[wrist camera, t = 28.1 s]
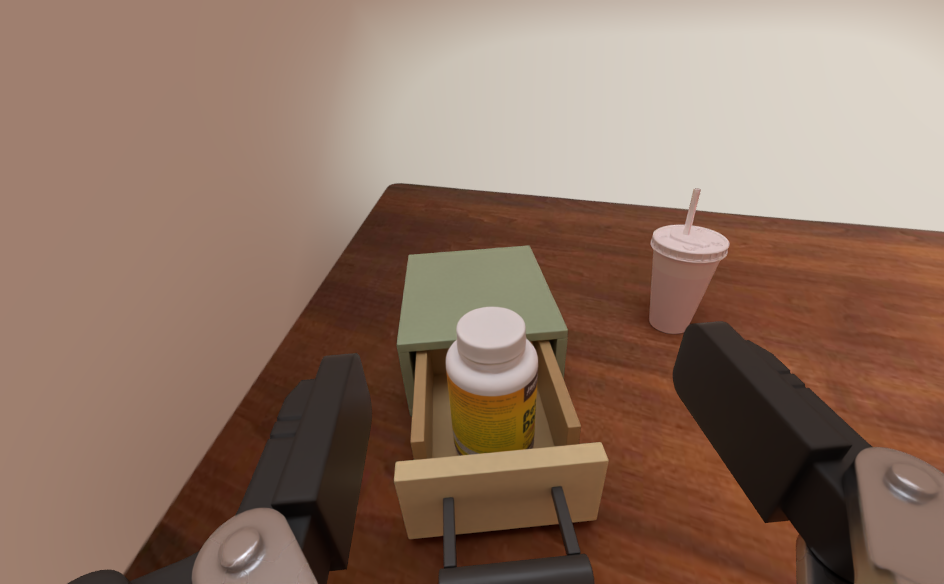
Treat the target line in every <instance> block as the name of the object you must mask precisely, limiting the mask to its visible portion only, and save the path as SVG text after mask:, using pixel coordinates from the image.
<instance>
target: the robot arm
mask: <svg viewBox="0 0 944 584" xmlns="http://www.w3.org/2000/svg"><path fill="white" fill-rule="evenodd" d="M673 382H674V387H675V389H676V392H677V394H678V396H679V397H680V399H681V400H682V402H683V403H684V404H685V406H686V407H687V409H688V410H689V412H690V413H691V415H692V416H693V418H694V419H695V421H696V422H697V424H698V425H699V426H700V428H701V429H702V431H703V432H704V434H705V435H706V437H707V438H708V440H709V441H710V443H711V444H712V446H713V447H714V449H715V450H716V451H717V453H718V454H719V456H720V457H721V459H722V460H723V462H724V463H725V465H726V466H727V468H728V469H729V471H730V472H731V474H732V475H733V476H734V478H735V479H736V481H737V482H738V484H739V485H740V487H741V488H742V490H743V491H744V493H745V494H746V496H747V497H748V498H749V500H750V501H751V503H752V504H753V506H754V507H755V509H756V510H757V512H758V513H759V515H760V516H761V518H762V519H763V521H764V522H765V523H770V522H780V521H789V520H790V522H791V523H792V525H793V526H794V527H795V529H796V530H797V531H798V533H799V535H798V537H797V540H796V577H797V584H944V474H943V473H942V472H940V471H939V470H938V469H936V468H934V467H933V466H931V465H930V464H928V463H926V462H924V461H922V460H920V459H918V458H916V457H914V456H912V455H909V454H906V453H904V452H901V451H897V450H894V449H889V448H882V447H872V446H871V445H870V444H868V443H867V442H866V441H865V440H864V439H863V438H862V437H861V436H860V435H859V434H858V433H857V432H855V431H854V430H853V429H852V428H851V427H850V426H849V425H848V424H847V423H846V422H845V421H844V420H843V419H842V418H841V417H839V416H838V415H837V414H836V413H835V412H834V411H833V410H832V409H831V408H830V407H829V406H828V405H827V404H826V403H824V402H823V401H822V400H821V399H820V398H819V397H818V396H817V395H816V394H815V393H814V392H813V391H812V390H811V389H809V388H806V387H805V384H804V383H803V382H802V381H801V380H800V379H799V378H798V377H797V376H796V375H795V374H791V373H790V370H789V369H788V368H787V367H786V366H785V365H784V364H783V363H782V362H781V361H780V360H778V359H777V358H776V357H775V356H774V355H773V354H772V353H770V352H768V351H767V350H765V349H763V348H761V347H760V346H758V345H756V344H754V343H753V342H751V341H749V340H744V339H743V338H742V337H741V336H740V335H739V334H738V333H737V332H736V331H735V330H734V329H733V328H732V327H731V326H730V325H729V324H728V323H726V322H723V321H719V322H707V323H695V324H690V325H688V326H687V328H686V329H685V332H684V335H683V339H682V342H681V345H680V349H679V352H678V355H677V359H676V362H675V366H674V369H673ZM371 421H372V406H371V399H370V395H369V391H368V387H367V383H366V379H365V375H364V371H363V367H362V364H361V360H360V357H359V355H358V354H357V353H354V354H342V355H331V356H325V357H323V359H322V361H321V364H320V367H319V370H318V372H317V375H316V378H315V379H310V380H302V381H301V382H300V383H299V384H298V385H297V386H296V387H295V388H294V389H293V390H292V392H291V393H290V394H289V395H288V396H287V397H286V398H285V400H284V403H283V405H282V408H281V410H280V412H279V415H278V417H277V422H275V424H274V427H273V429H272V431H271V434H270V439H268V441H267V443H266V446H265V448H264V450H263V453H262V455H261V458H260V460H259V462H258V465H257V467H256V469H255V472H254V474H253V477H252V479H251V481H250V484H249V486H248V488H247V491H246V493H245V496H244V498H243V500H242V503H241V505H240V507H239V509H238V511H237V513H236V515H235V516H234V517H233V518H231V519H229V520H228V521H227V522H225V523H224V524H222V525H221V526H220V527H219V528H218V529H217V530H216V531H215V532H214V533H213V534H212V535H211V536H210V537H209V538H208V540H207V541H206V542H205V544H204V545H203V547H202V548H201V550H200V551H198V552H197V553H195V554H193V555H192V556H190V557H187V558H185V559H183V560H181V561H178V562H176V563H174V564H171V565H169V566H166V567H164V568H162V569H159V570H157V571H154V572H152V573H149V574H147V575H145V576H142V577H140V578H137V579H135V580H132V581H129V580H128V579H127V578H126V577H125V576H124V575H122V574H121V573H119V572H117V571H115V570H100V571H95V572H91V573H89V574H86V575H83V576H81V577H79V578H77V579H75V580H73V581H71V582H69V583H68V584H327V579H328V574H329V571H335V570H344V569H347V564H348V558H349V552H350V547H351V541H352V535H353V529H354V523H355V517H356V511H357V505H358V499H359V493H360V487H361V481H362V476H363V470H364V464H365V458H366V452H367V446H368V440H369V434H370V428H371Z"/></svg>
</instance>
